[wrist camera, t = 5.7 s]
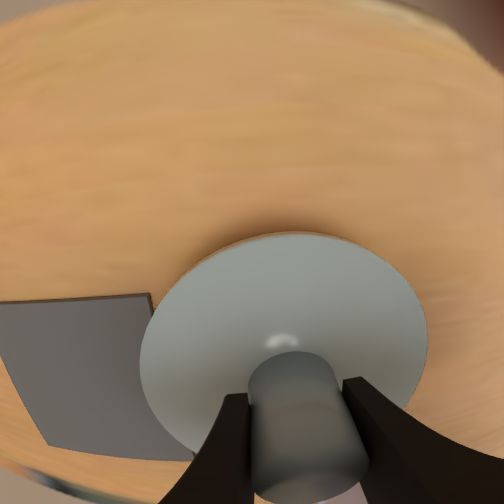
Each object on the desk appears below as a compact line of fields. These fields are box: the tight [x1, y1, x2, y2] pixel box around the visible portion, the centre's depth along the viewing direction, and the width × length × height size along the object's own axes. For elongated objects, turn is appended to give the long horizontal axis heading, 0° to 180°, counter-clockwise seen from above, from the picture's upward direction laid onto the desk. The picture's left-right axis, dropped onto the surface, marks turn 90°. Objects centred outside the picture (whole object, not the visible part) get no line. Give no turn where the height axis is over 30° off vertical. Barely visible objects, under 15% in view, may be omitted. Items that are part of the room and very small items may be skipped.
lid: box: [140, 231, 428, 504], centre depth 9 cm, size 10×10×5 cm
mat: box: [0, 293, 196, 461], centre depth 15 cm, size 11×11×1 cm
